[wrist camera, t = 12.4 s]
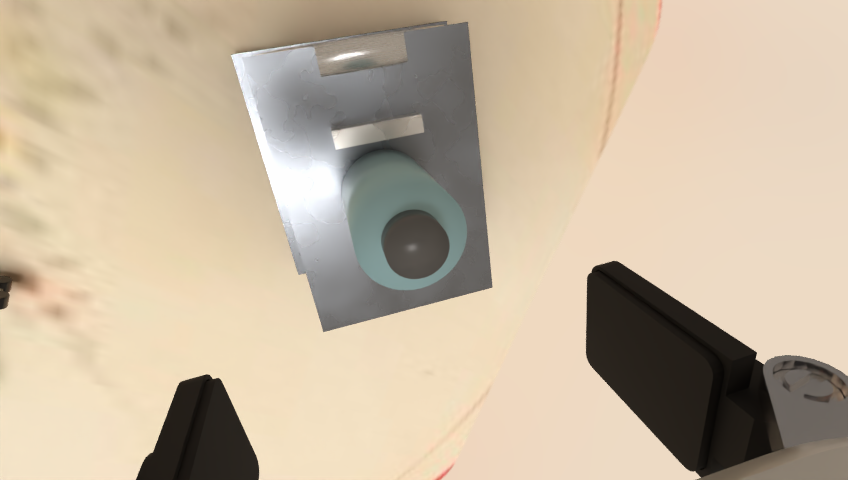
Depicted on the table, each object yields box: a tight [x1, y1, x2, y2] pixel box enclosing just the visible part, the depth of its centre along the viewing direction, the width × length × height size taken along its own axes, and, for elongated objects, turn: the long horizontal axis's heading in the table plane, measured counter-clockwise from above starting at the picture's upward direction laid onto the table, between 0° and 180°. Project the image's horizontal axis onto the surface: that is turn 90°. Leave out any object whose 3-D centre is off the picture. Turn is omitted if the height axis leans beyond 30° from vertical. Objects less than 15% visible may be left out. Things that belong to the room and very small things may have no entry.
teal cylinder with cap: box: [342, 149, 467, 290], centre depth 22 cm, size 5×5×9 cm
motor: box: [231, 21, 492, 332], centre depth 31 cm, size 18×16×13 cm
